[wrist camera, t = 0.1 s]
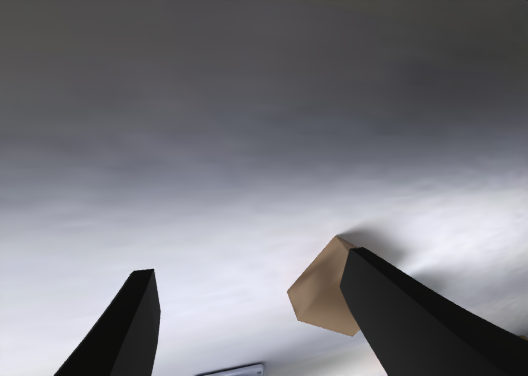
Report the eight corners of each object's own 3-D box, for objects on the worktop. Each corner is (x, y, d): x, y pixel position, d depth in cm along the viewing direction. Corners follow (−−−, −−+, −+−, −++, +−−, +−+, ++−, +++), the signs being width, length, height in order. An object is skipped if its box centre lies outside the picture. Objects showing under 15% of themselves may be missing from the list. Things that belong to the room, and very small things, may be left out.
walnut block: (336, 307, 29) (352, 336, 26) (285, 289, 25) (297, 320, 22) (381, 259, 27) (405, 285, 24) (333, 233, 24) (354, 259, 20)
